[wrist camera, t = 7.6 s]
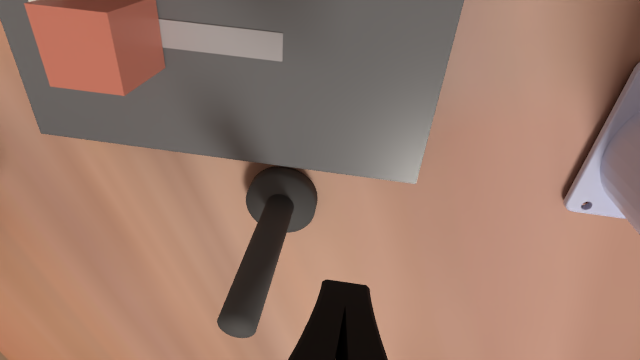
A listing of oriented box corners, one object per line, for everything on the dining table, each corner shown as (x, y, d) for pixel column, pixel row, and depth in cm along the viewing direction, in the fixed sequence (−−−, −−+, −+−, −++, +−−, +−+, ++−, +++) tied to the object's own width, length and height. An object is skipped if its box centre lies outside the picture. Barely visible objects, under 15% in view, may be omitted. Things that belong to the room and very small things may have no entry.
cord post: (319, 171, 22) (286, 300, 14) (315, 226, 24) (284, 362, 17) (249, 162, 22) (182, 284, 15) (251, 217, 24) (194, 346, 17)
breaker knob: (155, -4, 16) (107, 12, 13) (165, 67, 18) (124, 95, 15) (86, -12, 16) (23, 3, 14) (102, 60, 18) (50, 86, 15)
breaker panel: (483, -108, 14) (493, -111, 13) (413, 168, 21) (415, 184, 20) (-28, -154, 16) (-65, -161, 14) (59, 121, 22) (40, 133, 21)
